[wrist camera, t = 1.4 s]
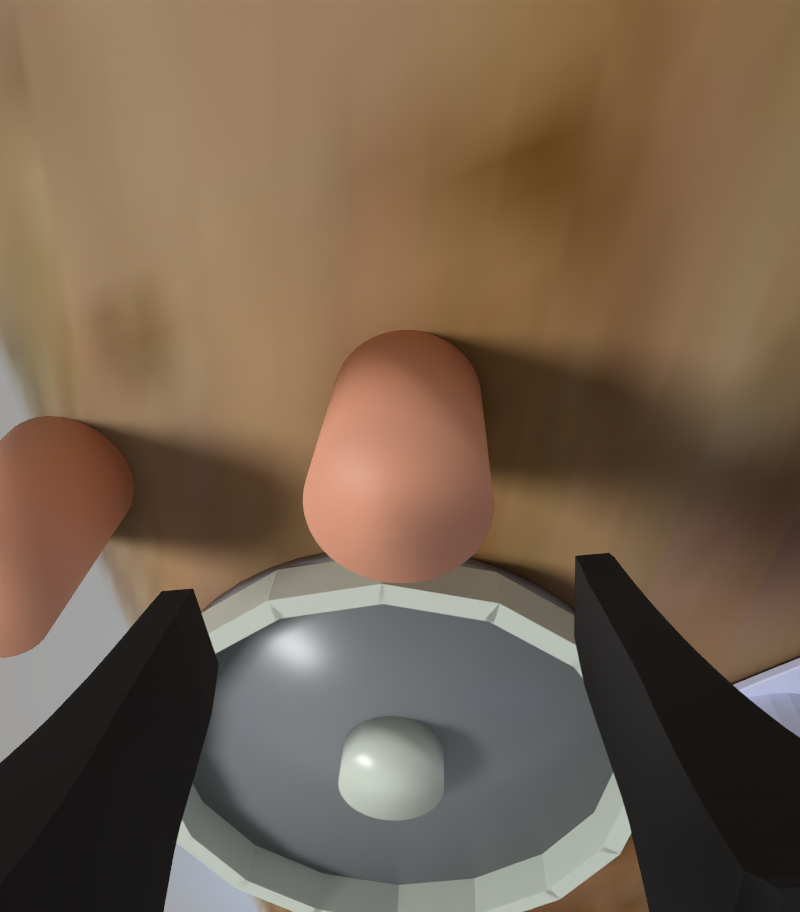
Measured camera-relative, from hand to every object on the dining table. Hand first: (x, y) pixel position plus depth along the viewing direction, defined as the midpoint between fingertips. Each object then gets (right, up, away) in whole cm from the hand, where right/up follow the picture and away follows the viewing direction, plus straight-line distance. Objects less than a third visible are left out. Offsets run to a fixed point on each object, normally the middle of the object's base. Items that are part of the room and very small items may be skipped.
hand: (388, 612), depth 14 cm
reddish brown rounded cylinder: (-11, +2, +11) cm, 15 cm away
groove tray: (0, -8, +16) cm, 18 cm away
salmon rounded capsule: (+1, +5, +9) cm, 10 cm away
